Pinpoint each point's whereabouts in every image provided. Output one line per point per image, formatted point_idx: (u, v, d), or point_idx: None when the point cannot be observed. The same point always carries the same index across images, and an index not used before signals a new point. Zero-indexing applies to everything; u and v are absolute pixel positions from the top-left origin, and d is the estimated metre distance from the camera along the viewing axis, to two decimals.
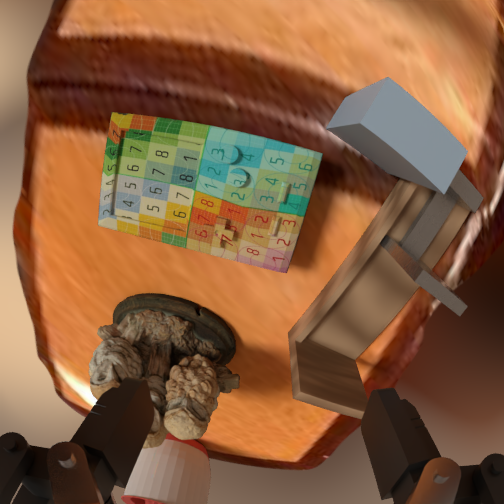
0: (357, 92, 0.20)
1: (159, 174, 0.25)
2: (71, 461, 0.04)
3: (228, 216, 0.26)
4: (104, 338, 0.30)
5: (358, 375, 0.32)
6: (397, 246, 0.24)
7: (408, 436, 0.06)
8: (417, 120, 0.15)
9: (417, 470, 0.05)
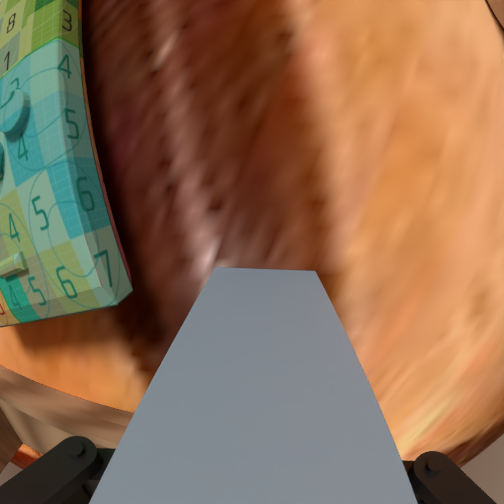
0: (333, 322, 0.07)
1: None
2: None
3: None
4: None
5: (7, 459, 0.13)
6: None
7: None
8: None
9: None
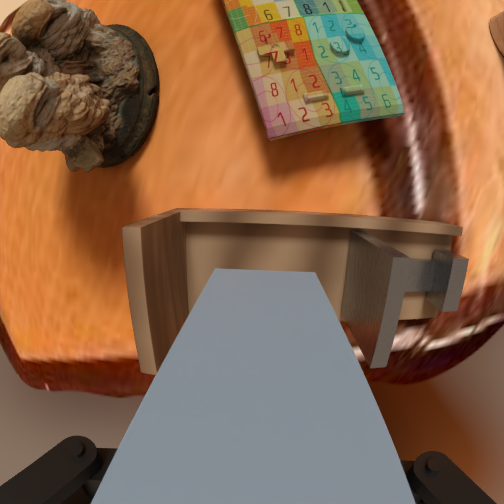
0: (333, 324, 0.07)
1: None
2: None
3: (297, 51, 0.18)
4: None
5: (180, 328, 0.24)
6: (377, 239, 0.20)
7: None
8: None
9: None
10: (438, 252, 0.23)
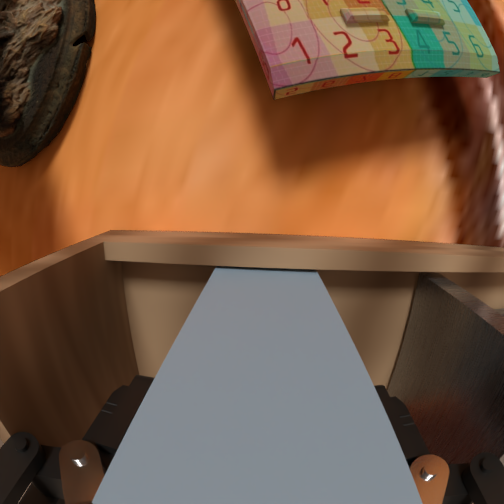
0: (328, 305, 0.08)
1: None
2: (84, 459, 0.05)
3: None
4: None
5: None
6: (480, 301, 0.08)
7: (396, 433, 0.06)
8: None
9: None
10: None
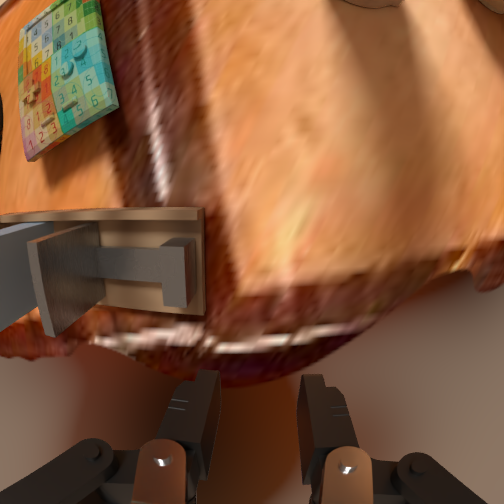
0: (25, 227, 0.21)
1: (56, 31, 0.18)
2: (167, 460, 0.05)
3: (42, 87, 0.19)
4: None
5: None
6: (74, 229, 0.21)
7: (322, 421, 0.07)
8: None
9: None
10: None
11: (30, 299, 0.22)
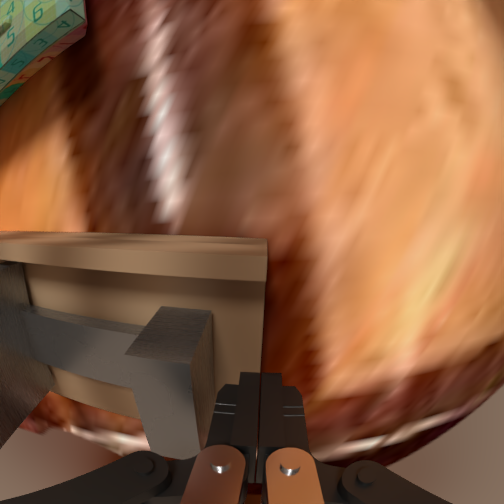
0: None
1: None
2: (226, 468, 0.05)
3: None
4: None
5: None
6: None
7: (271, 420, 0.07)
8: None
9: None
10: None
11: None
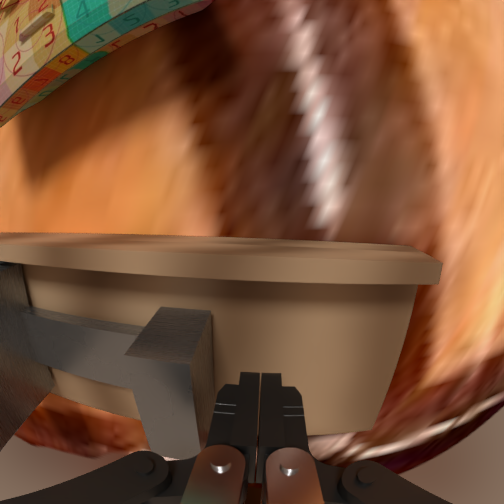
0: None
1: None
2: (225, 468, 0.05)
3: None
4: None
5: None
6: None
7: (271, 420, 0.07)
8: None
9: None
10: None
11: None
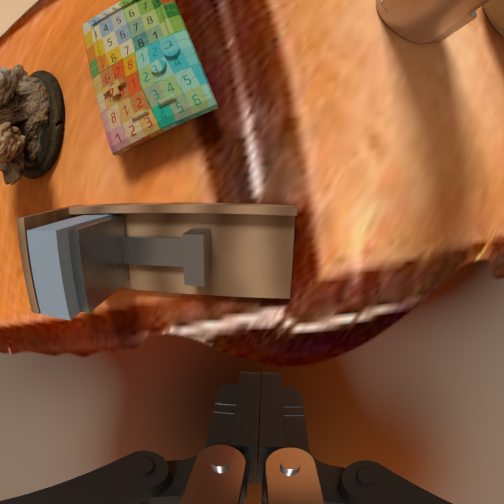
0: (94, 218, 0.26)
1: (134, 28, 0.22)
2: (225, 468, 0.05)
3: (128, 82, 0.24)
4: (12, 72, 0.21)
5: None
6: (106, 220, 0.26)
7: (272, 420, 0.07)
8: (51, 268, 0.20)
9: None
10: (189, 230, 0.29)
11: None
